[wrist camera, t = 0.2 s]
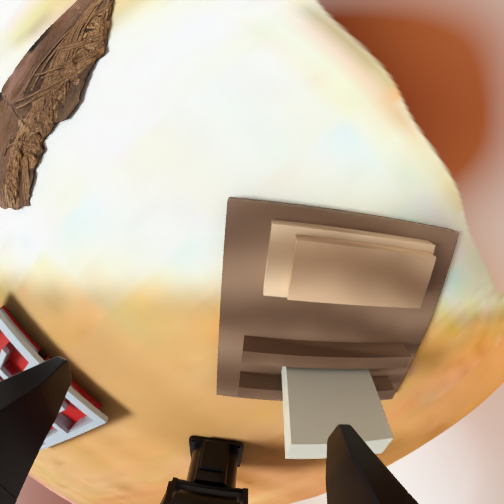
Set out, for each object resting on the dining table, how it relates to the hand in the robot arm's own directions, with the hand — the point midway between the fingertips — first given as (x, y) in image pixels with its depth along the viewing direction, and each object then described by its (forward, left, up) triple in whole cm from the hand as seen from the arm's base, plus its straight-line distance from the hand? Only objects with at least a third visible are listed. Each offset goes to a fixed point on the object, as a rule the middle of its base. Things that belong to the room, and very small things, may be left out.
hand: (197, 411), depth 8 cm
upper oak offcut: (0, -9, -12) cm, 15 cm away
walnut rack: (-5, -8, -14) cm, 17 cm away
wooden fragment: (+13, +19, -15) cm, 27 cm away
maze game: (-27, +33, -15) cm, 45 cm away
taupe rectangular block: (-9, -8, -13) cm, 18 cm away
